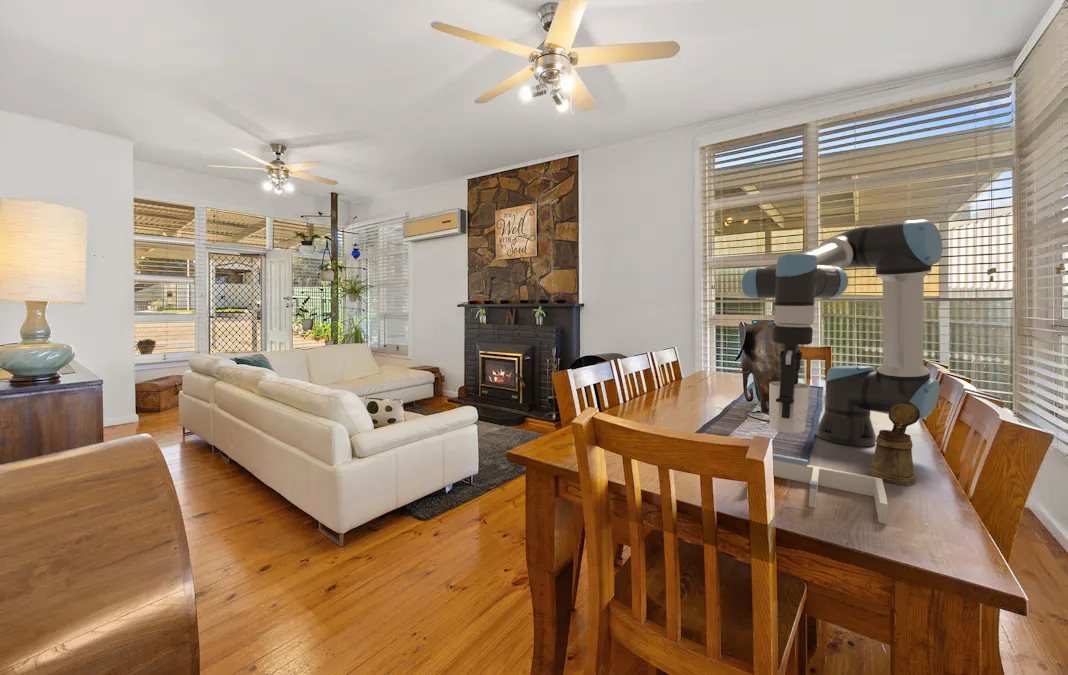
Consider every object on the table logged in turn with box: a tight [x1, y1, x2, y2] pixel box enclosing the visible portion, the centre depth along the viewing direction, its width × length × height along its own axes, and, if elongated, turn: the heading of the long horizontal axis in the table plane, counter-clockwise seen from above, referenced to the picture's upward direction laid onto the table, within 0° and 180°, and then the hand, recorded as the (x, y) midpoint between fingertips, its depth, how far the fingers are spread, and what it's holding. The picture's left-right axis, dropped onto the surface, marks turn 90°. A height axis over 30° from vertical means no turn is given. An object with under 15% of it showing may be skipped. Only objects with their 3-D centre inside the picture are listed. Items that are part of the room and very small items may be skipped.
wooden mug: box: [869, 401, 920, 486], centre depth 110 cm, size 9×14×18 cm, turn 127°
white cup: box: [768, 381, 811, 434], centre depth 100 cm, size 8×8×10 cm
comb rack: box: [772, 453, 889, 525], centre depth 100 cm, size 15×25×5 cm, turn 56°
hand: (787, 427), depth 100 cm, fingers closed on white cup, 7 cm apart
